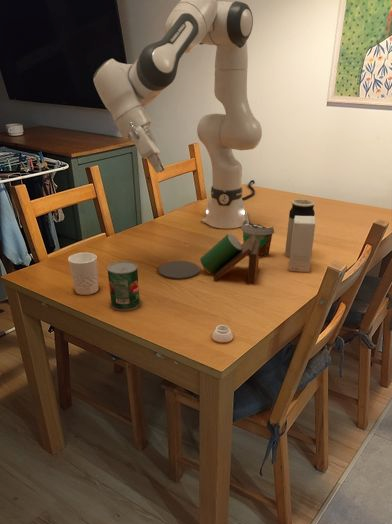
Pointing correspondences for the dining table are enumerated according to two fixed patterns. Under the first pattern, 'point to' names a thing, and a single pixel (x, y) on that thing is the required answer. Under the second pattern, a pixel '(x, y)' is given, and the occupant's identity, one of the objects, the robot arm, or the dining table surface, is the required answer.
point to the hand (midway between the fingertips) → (161, 171)
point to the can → (220, 253)
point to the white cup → (84, 272)
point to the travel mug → (298, 209)
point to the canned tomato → (123, 285)
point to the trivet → (179, 270)
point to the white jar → (222, 334)
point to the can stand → (247, 247)
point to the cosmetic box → (302, 243)
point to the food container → (258, 236)
